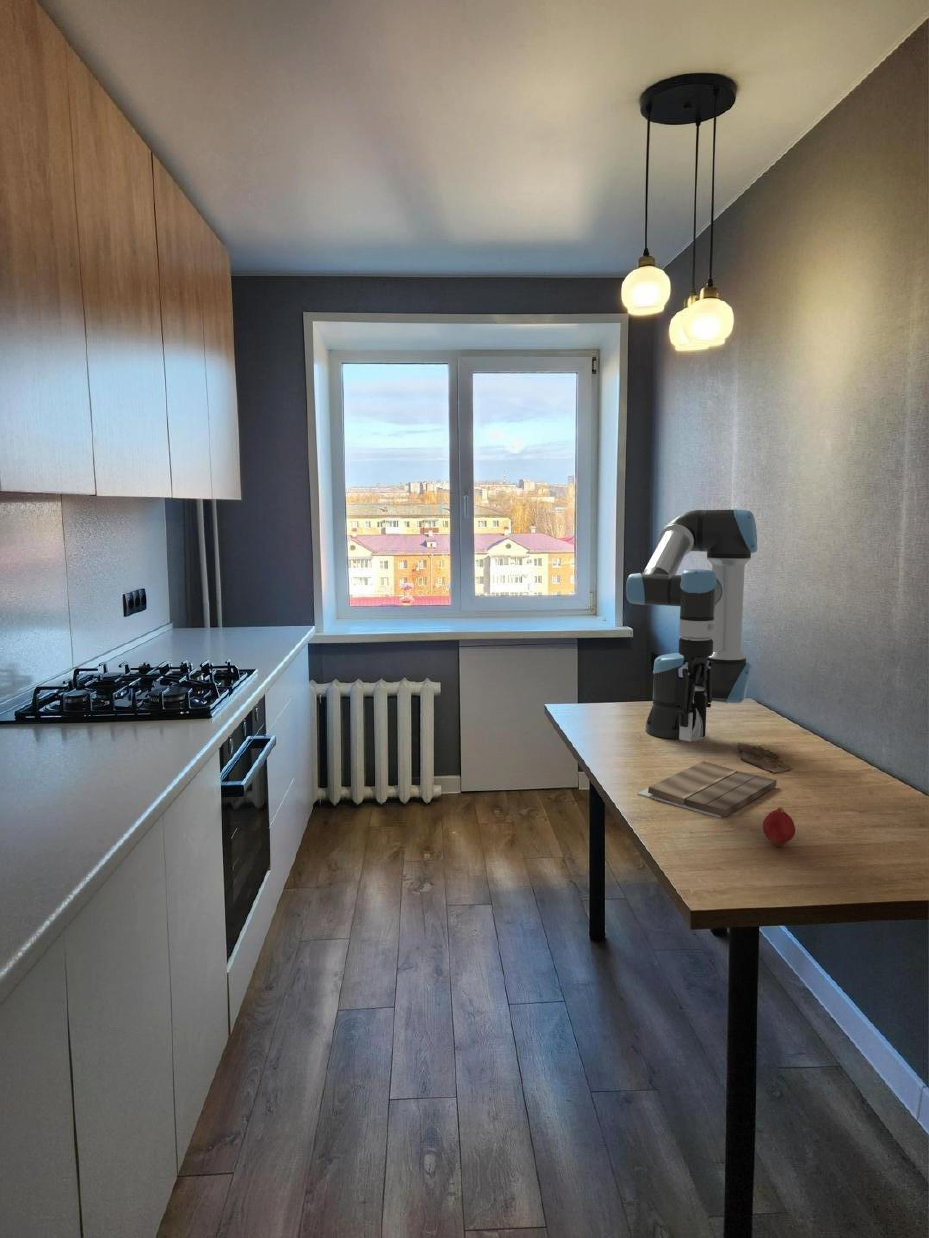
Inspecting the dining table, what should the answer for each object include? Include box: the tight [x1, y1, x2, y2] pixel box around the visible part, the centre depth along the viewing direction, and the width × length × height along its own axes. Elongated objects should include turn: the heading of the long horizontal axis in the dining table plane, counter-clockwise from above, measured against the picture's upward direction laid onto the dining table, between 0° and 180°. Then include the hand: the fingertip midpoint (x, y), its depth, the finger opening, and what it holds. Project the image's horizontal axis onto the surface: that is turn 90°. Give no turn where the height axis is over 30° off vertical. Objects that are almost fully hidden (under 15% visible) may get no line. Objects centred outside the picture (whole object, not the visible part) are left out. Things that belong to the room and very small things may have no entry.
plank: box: [647, 760, 739, 805], centre depth 181 cm, size 26×9×2 cm, turn 135°
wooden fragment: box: [738, 742, 793, 775], centre depth 203 cm, size 26×11×1 cm, turn 177°
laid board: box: [686, 771, 778, 818], centre depth 174 cm, size 26×9×2 cm, turn 135°
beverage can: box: [690, 686, 708, 742], centre depth 177 cm, size 6×6×12 cm
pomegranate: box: [761, 806, 796, 848], centre depth 148 cm, size 6×6×8 cm
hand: (692, 737), depth 178 cm, fingers closed on beverage can, 6 cm apart
